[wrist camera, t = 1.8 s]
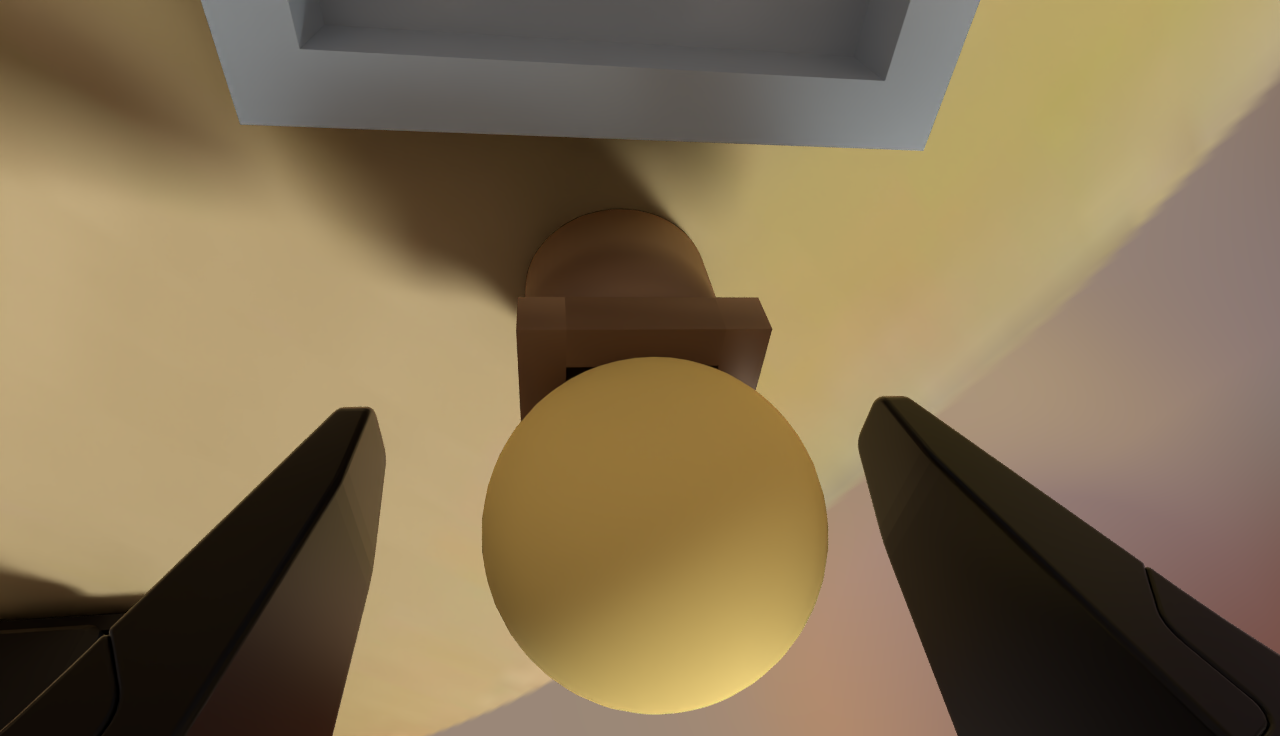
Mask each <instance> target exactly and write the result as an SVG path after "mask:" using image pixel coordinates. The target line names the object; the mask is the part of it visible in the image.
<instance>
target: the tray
mask: <svg viewBox="0 0 1280 736" xmlns="http://www.w3.org/2000/svg"><path fill="white" fill-rule="evenodd" d="M979 2H980V0H201V3H202V6H203V9H204V12H205V15H206V18H207V22H208V25H209V28H210V31H211V34H212V37H213V40H214V44H215V47H216V50H217V53H218V56H219V59H220V62H221V66H222V69H223V72H224V75H225V78H226V81H227V84H228V88H229V91H230V94H231V97H232V100H233V103H234V106H235V110H236V113H237V116H238V119H239V122H240V124H241V125H267V126H293V127H319V128H345V129H371V130H397V131H423V132H449V133H475V134H501V135H528V136H554V137H580V138H606V139H632V140H658V141H684V142H710V143H736V144H762V145H788V146H814V147H840V148H866V149H892V150H919V151H923V150H924V148H925V145H926V142H927V140H928V137H929V134H930V132H931V129H932V127H933V124H934V121H935V119H936V116H937V113H938V111H939V108H940V105H941V103H942V100H943V97H944V95H945V92H946V89H947V87H948V84H949V81H950V79H951V76H952V73H953V71H954V68H955V66H956V63H957V60H958V58H959V55H960V52H961V50H962V47H963V44H964V42H965V39H966V36H967V34H968V31H969V28H970V26H971V23H972V20H973V18H974V15H975V12H976V10H977V7H978V5H979Z"/></svg>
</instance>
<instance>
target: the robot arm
mask: <svg viewBox="0 0 1280 736" xmlns="http://www.w3.org/2000/svg"><path fill="white" fill-rule="evenodd" d="M858 448H859V454H860V458H861V461H862V465H863V469H864V473H865V476H866V480H867V484H868V488H869V491H870V495H871V499H872V503H873V507H874V510H875V514H876V518H877V522H878V525H879V529H880V533H881V536H882V539H883V543H884V545H885V548H886V551H887V554H888V557H889V559H890V562H891V565H892V567H893V570H894V572H895V575H896V578H897V580H898V583H899V585H900V588H901V590H902V593H903V595H904V598H905V601H906V603H907V606H908V609H909V611H910V613H911V616H912V619H913V622H914V624H915V627H916V629H917V632H918V634H919V637H920V639H921V642H922V645H923V647H924V650H925V653H926V655H927V658H928V660H929V663H930V665H931V668H932V671H933V673H934V676H935V678H936V681H937V684H938V686H939V689H940V691H941V694H942V696H943V699H944V702H945V704H946V707H947V709H948V712H949V714H950V717H951V720H952V722H953V725H954V727H955V730H956V733H957V735H958V736H1280V655H1279V654H1278V653H1276V652H1275V651H1273V650H1271V649H1270V648H1268V647H1267V646H1265V645H1264V644H1262V643H1260V642H1259V641H1257V640H1256V639H1254V638H1253V637H1251V636H1250V635H1248V634H1247V633H1245V632H1243V631H1242V630H1240V629H1239V628H1237V627H1236V626H1234V625H1233V624H1231V623H1229V622H1228V621H1226V620H1225V619H1223V618H1222V617H1220V616H1219V615H1218V614H1216V613H1215V612H1213V611H1212V610H1210V609H1209V608H1207V607H1206V606H1204V605H1203V604H1201V603H1200V602H1199V601H1197V600H1196V599H1194V598H1193V597H1191V596H1190V595H1188V594H1187V593H1185V592H1184V591H1182V590H1181V589H1179V588H1178V587H1177V586H1175V585H1174V584H1172V583H1171V582H1170V581H1168V580H1167V579H1165V578H1164V577H1163V576H1161V575H1160V574H1158V573H1157V572H1155V571H1154V570H1153V569H1151V568H1149V567H1145V566H1144V564H1143V563H1142V562H1141V561H1140V560H1138V559H1137V558H1135V557H1134V556H1133V555H1131V554H1130V553H1128V552H1127V551H1125V550H1124V549H1123V548H1121V547H1120V546H1118V545H1117V544H1116V543H1114V542H1113V541H1111V540H1110V539H1109V538H1107V537H1106V536H1104V535H1103V534H1101V533H1100V532H1099V531H1097V530H1096V529H1094V528H1093V527H1091V526H1090V525H1089V524H1087V523H1086V522H1084V521H1083V520H1082V519H1080V518H1079V517H1077V516H1076V515H1074V514H1073V513H1072V512H1070V511H1069V510H1067V509H1066V508H1065V507H1063V506H1062V505H1060V504H1059V503H1057V502H1056V501H1055V500H1053V499H1052V498H1050V497H1049V496H1047V495H1046V494H1044V493H1043V492H1042V491H1040V490H1039V489H1038V488H1036V487H1034V486H1033V485H1032V484H1030V483H1029V482H1028V481H1026V480H1025V479H1023V478H1022V477H1020V476H1019V475H1018V474H1016V473H1015V472H1013V471H1012V470H1011V469H1009V468H1008V467H1006V466H1005V465H1003V464H1002V463H1001V462H999V461H997V460H996V459H995V458H994V457H992V456H991V455H989V454H988V453H986V452H985V451H984V450H982V449H980V448H979V447H978V446H976V445H975V444H974V443H972V442H971V441H969V440H968V439H967V438H965V437H964V436H962V435H961V434H960V433H958V432H957V431H955V430H954V429H952V428H951V427H950V426H948V425H947V424H945V423H944V422H943V421H941V420H940V419H938V418H937V417H935V416H934V415H933V414H931V413H930V412H928V411H927V410H925V409H924V408H923V407H921V406H920V405H918V404H917V403H916V402H914V401H913V400H911V399H910V398H908V397H904V396H882V397H879V398H878V399H876V400H875V401H874V403H873V405H872V407H871V410H870V412H869V414H868V416H867V419H866V421H865V423H864V425H863V428H862V430H861V432H860V435H859V440H858ZM385 466H386V455H385V448H384V444H383V440H382V436H381V432H380V428H379V424H378V420H377V417H376V414H375V412H374V410H373V409H372V408H370V407H343V408H339V409H338V410H336V411H335V412H333V413H332V414H331V415H330V416H329V417H328V418H327V419H326V420H325V421H324V422H323V423H322V424H321V425H320V426H319V427H318V428H317V429H316V430H315V431H314V432H313V433H312V434H311V435H310V436H309V437H308V438H307V439H305V440H304V441H303V442H302V443H301V444H300V445H299V446H298V447H297V448H296V449H295V450H294V451H293V452H292V453H291V454H290V455H289V456H288V457H287V458H286V459H285V460H284V461H283V462H282V463H281V464H280V465H279V466H278V467H277V468H275V469H274V470H273V471H272V472H271V473H270V474H269V475H268V476H267V477H266V478H265V479H264V480H263V481H262V482H261V483H260V484H259V485H258V486H257V487H256V488H255V489H254V490H253V491H252V492H251V493H250V494H249V495H248V496H247V497H245V498H244V499H243V500H242V501H241V502H240V503H239V504H238V505H237V506H236V507H235V508H234V509H233V510H232V511H231V512H230V513H229V514H228V515H227V516H226V517H225V518H224V519H223V520H222V521H221V522H220V523H219V524H218V525H216V526H215V527H214V528H213V529H212V530H211V531H210V532H209V533H208V534H207V535H206V536H205V537H204V538H203V539H202V540H201V541H200V542H199V543H198V544H197V545H196V546H195V547H194V548H193V549H192V550H191V551H190V552H189V553H188V554H186V555H185V556H184V557H183V558H182V559H181V560H180V561H179V562H178V563H177V564H176V565H175V566H174V567H173V568H172V569H171V570H170V571H169V572H168V573H167V574H166V575H165V576H164V577H163V578H162V579H161V580H160V581H159V582H158V583H156V584H155V585H154V586H153V587H152V588H151V589H150V590H149V591H148V592H147V593H146V594H145V595H144V596H143V597H142V598H141V599H140V600H139V601H138V602H137V603H136V604H135V605H134V606H133V607H132V608H131V609H130V610H129V611H128V612H126V613H125V614H109V615H92V616H76V617H59V618H43V619H27V620H10V621H0V736H332V735H333V731H334V727H335V723H336V719H337V715H338V711H339V707H340V703H341V699H342V695H343V691H344V687H345V683H346V679H347V675H348V671H349V667H350V663H351V659H352V655H353V651H354V647H355V643H356V639H357V635H358V631H359V626H360V622H361V618H362V614H363V610H364V606H365V602H366V598H367V594H368V590H369V586H370V581H371V576H372V572H373V564H374V557H375V550H376V541H377V533H378V525H379V516H380V508H381V500H382V491H383V483H384V475H385Z"/></svg>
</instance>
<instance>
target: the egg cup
mask: <svg viewBox="0 0 1280 736" xmlns="http://www.w3.org/2000/svg"><path fill="white" fill-rule="evenodd" d="M771 331H772V327H771V325H770V323H769V321H768V318H767V316H766V314H765V312H764V310H763V307H762V305H761V303H760V301H759V298H720V297H715V294H714V291H713V288H712V286H711V283H710V280H709V277H708V274H707V272H706V269H705V266H704V263H703V261H702V258H701V256H700V253H699V251H698V250H697V248H696V246H695V245H694V243H693V242H692V241H691V240H690V238H689V237H688V236H687V235H686V234H685V233H684V232H683V231H682V230H681V229H679V228H678V227H677V226H675V225H674V224H672V223H671V222H669V221H667V220H665V219H663V218H661V217H659V216H656V215H653V214H650V213H647V212H642V211H637V210H627V209H613V210H604V211H598V212H594V213H591V214H587V215H584V216H582V217H579V218H577V219H574V220H572V221H571V222H569V223H567V224H565V225H564V226H562V227H561V228H559V229H558V230H557V231H555V232H554V233H553V234H552V235H551V236H550V237H549V238H548V239H547V240H546V241H545V242H544V243H543V244H542V245H541V247H540V248H539V249H538V251H537V252H536V254H535V256H534V258H533V259H532V261H531V264H530V267H529V269H528V273H527V278H526V286H525V297H518V303H517V324H516V335H517V354H518V374H519V393H520V412H521V421H522V420H523V419H524V418H525V416H526V415H527V414H528V413H529V412H530V411H531V410H532V409H533V407H534V406H535V405H536V404H537V403H539V402H540V401H541V400H542V399H543V398H544V397H546V396H547V395H548V394H549V393H551V392H552V391H553V390H555V389H556V388H557V387H559V386H560V385H562V384H563V383H565V382H566V381H568V380H570V379H571V378H573V377H575V376H577V375H579V374H581V373H583V372H585V371H588V370H590V369H593V368H595V367H598V366H601V365H604V364H608V363H612V362H615V361H620V360H626V359H632V358H642V357H671V358H677V359H684V360H689V361H693V362H697V363H700V364H704V365H707V366H710V367H713V368H715V369H718V370H720V371H723V372H725V373H728V374H729V375H731V376H733V377H735V378H736V379H738V380H740V381H741V382H743V383H745V384H746V385H748V386H750V387H751V388H753V389H754V390H756V387H757V383H758V379H759V376H760V372H761V368H762V365H763V361H764V357H765V354H766V350H767V346H768V343H769V339H770V335H771Z"/></svg>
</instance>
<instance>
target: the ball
mask: <svg viewBox="0 0 1280 736" xmlns="http://www.w3.org/2000/svg"><path fill="white" fill-rule="evenodd" d="M827 552H828V522H827V513H826V506H825V500H824V495H823V491H822V488H821V485H820V482H819V479H818V476H817V473H816V470H815V467H814V464H813V462H812V460H811V458H810V456H809V454H808V452H807V450H806V448H805V447H804V445H803V443H802V441H801V440H800V438H799V436H798V435H797V433H796V432H795V431H794V429H793V428H792V427H791V425H790V424H789V423H788V421H787V420H786V419H785V418H784V417H783V416H782V414H781V413H780V412H779V411H778V410H777V409H776V408H775V407H774V406H773V405H772V404H771V403H770V402H769V401H768V400H766V399H765V398H764V397H763V396H762V395H760V394H759V393H758V392H757V391H755V390H754V389H753V388H751V387H750V386H748V385H746V384H745V383H743V382H741V381H740V380H738V379H736V378H735V377H733V376H731V375H729V374H728V373H725V372H723V371H720V370H718V369H715V368H713V367H710V366H707V365H704V364H700V363H697V362H693V361H689V360H684V359H677V358H671V357H642V358H632V359H626V360H620V361H615V362H612V363H608V364H604V365H601V366H598V367H595V368H593V369H590V370H588V371H585V372H583V373H581V374H579V375H577V376H575V377H573V378H571V379H570V380H568V381H566V382H565V383H563V384H562V385H560V386H559V387H557V388H556V389H555V390H553V391H552V392H551V393H549V394H548V395H547V396H546V397H544V398H543V399H542V400H541V401H540V402H539V403H537V404H536V405H535V406H534V407H533V409H532V410H531V411H530V412H529V413H528V414H527V415H526V416H525V418H524V419H523V420H522V421H521V422H520V424H519V425H518V426H517V427H516V429H515V430H514V432H513V433H512V435H511V436H510V438H509V439H508V441H507V443H506V445H505V446H504V448H503V450H502V452H501V454H500V456H499V458H498V460H497V463H496V465H495V467H494V470H493V473H492V476H491V479H490V482H489V485H488V489H487V494H486V499H485V504H484V510H483V516H482V553H483V559H484V566H485V572H486V576H487V580H488V584H489V587H490V590H491V593H492V596H493V599H494V602H495V605H496V607H497V609H498V611H499V613H500V615H501V617H502V619H503V620H504V622H505V624H506V626H507V628H508V630H509V632H510V634H511V635H512V636H513V638H514V639H515V640H516V642H517V643H518V644H519V646H520V647H521V649H522V650H523V651H524V652H525V653H526V655H527V656H528V657H529V658H530V659H531V660H532V661H533V662H534V663H535V664H536V665H537V666H538V667H539V668H540V669H541V670H542V671H543V672H544V673H546V674H547V675H548V676H549V677H550V678H552V679H553V680H555V681H556V682H558V683H559V684H560V685H562V686H564V687H565V688H566V689H568V690H570V691H571V692H573V693H575V694H576V695H579V696H581V697H583V698H586V699H588V700H590V701H592V702H595V703H597V704H600V705H602V706H605V707H609V708H612V709H617V710H622V711H627V712H633V713H640V714H672V713H680V712H686V711H691V710H695V709H700V708H703V707H707V706H710V705H712V704H715V703H718V702H720V701H723V700H725V699H727V698H729V697H731V696H733V695H735V694H736V693H738V692H740V691H741V690H743V689H745V688H747V687H748V686H750V685H752V684H753V683H754V682H756V681H757V680H758V679H760V678H761V677H762V676H763V675H764V674H765V673H767V672H768V671H769V670H770V669H771V668H772V667H773V666H774V665H775V664H776V663H777V662H779V661H780V659H781V658H782V657H783V656H784V655H785V654H786V653H787V651H788V650H789V649H790V647H791V646H792V645H793V643H794V642H795V641H796V639H797V638H798V637H799V635H800V633H801V632H802V630H803V628H804V626H805V624H806V623H807V621H808V619H809V617H810V615H811V613H812V611H813V609H814V606H815V603H816V601H817V598H818V595H819V591H820V588H821V585H822V582H823V578H824V572H825V565H826V558H827Z"/></svg>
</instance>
